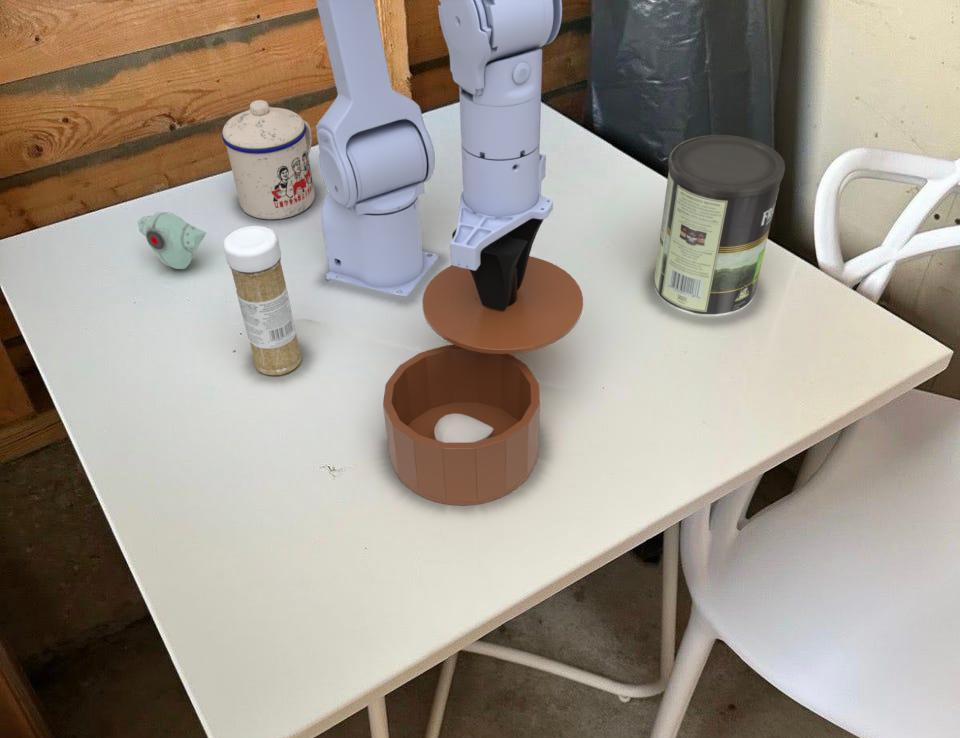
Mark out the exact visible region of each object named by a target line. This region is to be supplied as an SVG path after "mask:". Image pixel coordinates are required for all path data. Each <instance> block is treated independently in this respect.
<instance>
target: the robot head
mask: <svg viewBox="0 0 960 738" xmlns="http://www.w3.org/2000/svg"><path fill="white" fill-rule="evenodd" d="M137 226H138V231H139V232H140V234H142V235H143V236H144V237H145V239H146V241H147V244H148V246H149V247H150V249H151V250H152V252H153V253H154V254H155V256H156V257H157V258H158V259H159V261H160V262H162V263H163V264H164V265H165V266H168V267H170V268H173V269H175V270H185V269H187V268H188V266H189V265H190V264H191V262H192V259H193V256H194V252H195V251H196V250H197V249H198V248H199V246H200V244H201V243H202V241H203V239H204V238H205V237H206V235H207V232H206V231H204V230H202V229H200V228H198V227H196V226H194V225H192V224H190V223H188V222H187V221H185V220H184V219H183V218H182V217H181V216H178V215H176V214H174V213H172V212H168V211H167V212H166V211H163V212H161V211H160V212H159V211H157V212H155V213H153V214H151V215H146V216H142V218H140V219H139V220H138V221H137Z"/></svg>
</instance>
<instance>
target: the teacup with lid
mask: <svg viewBox="0 0 960 738" xmlns="http://www.w3.org/2000/svg"><path fill="white" fill-rule="evenodd" d="M312 135H313V134H312V128H311V126H310V124H309V123H308V122H307V121H306V120H304V119H303V118H302V117H301V116H300V115H299V114H298V113H296V112H295V111H292V110H290V109H287V108H282V107H272V106H269V103H268V101H266V100H265V99H264V100H263V99H257V100H254V101H252V102H251V103H250V105H249V109H248V110H245V111H242V112H240V113H237V114H236V115H233V116H232V117H231V118H230V119H228V120H227V121H226V123H225V124H224V126H223V128H222V133H221V139H222V142H223V143H224V144H225V146H226V150H227V155H228V160H229V164H230V167H231V172H232V176H233V180H234V184H235V190H236V194H237V197H238V202H239V206H240V208H241V209H242V210H243V212H245V214H247V215H249V216H250V217H251V216H252V217H254V218H256V219H261V220H282V219H287V218H290V217H294V216H296V215H299V214H301V213H302V212H304V211H306V210H307V209H309V207H310V206H312V204H313V202H314V201H315V195H316V194H315V193H316V192H315V187H314V182H313V175H312V169H311V163H310V157H309V156H310V153H311V150H312V143H313V136H312Z"/></svg>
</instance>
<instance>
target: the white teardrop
mask: <svg viewBox="0 0 960 738" xmlns="http://www.w3.org/2000/svg"><path fill="white" fill-rule="evenodd" d="M492 431H493V428H492V427H491V426H489V425H487V424H484V423H483V422H481V421H479V420H477V419H474V418H472V417H470V416H467V415H463V414H454V413H453V414H449V415H445V416H444V417H442V418H441V419H439V421H438V422H437V424H436V426H435V428H434V434H435V440H438V441H441V442H445V443H474V442H477V441H481V440H484V439H487V438H488V436H489V435H490V434H491V433H492Z"/></svg>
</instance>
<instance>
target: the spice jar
mask: <svg viewBox="0 0 960 738" xmlns="http://www.w3.org/2000/svg"><path fill="white" fill-rule="evenodd" d="M222 245H223V246H222V247H223V251H224V256H225V260H226V263H227V265H228V267H229V269H230V270H231V274H232V277H233V282H234V286H235V289H236V290H235V292H236V296H237V300H238V304H239V308H240V312H241V315H242V320H243V323H244V327H245V332H246V336H247V339H248V341H249V344H250V348H251V352H252V356H253V365H254V367H255V369H256V370H257V371H258V372H260V373H262V374H264V375H266V376H267V375H268V376H281V375H286V374H287V373H290V372H292V371H293V370H295V369H296V368H297V367H298V366H300V364H301V361H302V358H303V357H302V356H303V354H302V351H301V349H300V347H299V342H298V337H297V333H296V326H295V321H294V317H293V312H292V306H291V301H290V297H289V292H288V291H289V290H288V288H287V283H286V280H285V275H284V271H283V265H282V262H281V260H282V251H281V247H280V242H279V238H278V235H277V233H276V232H275V231H274V230H272V229H271V228H269V227H266V226H262V225H248V226H244V227H240V228H238V229H235V230H233V231H232V232H230V233H229V234H227V236H225V238H224V240H223V244H222Z"/></svg>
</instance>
